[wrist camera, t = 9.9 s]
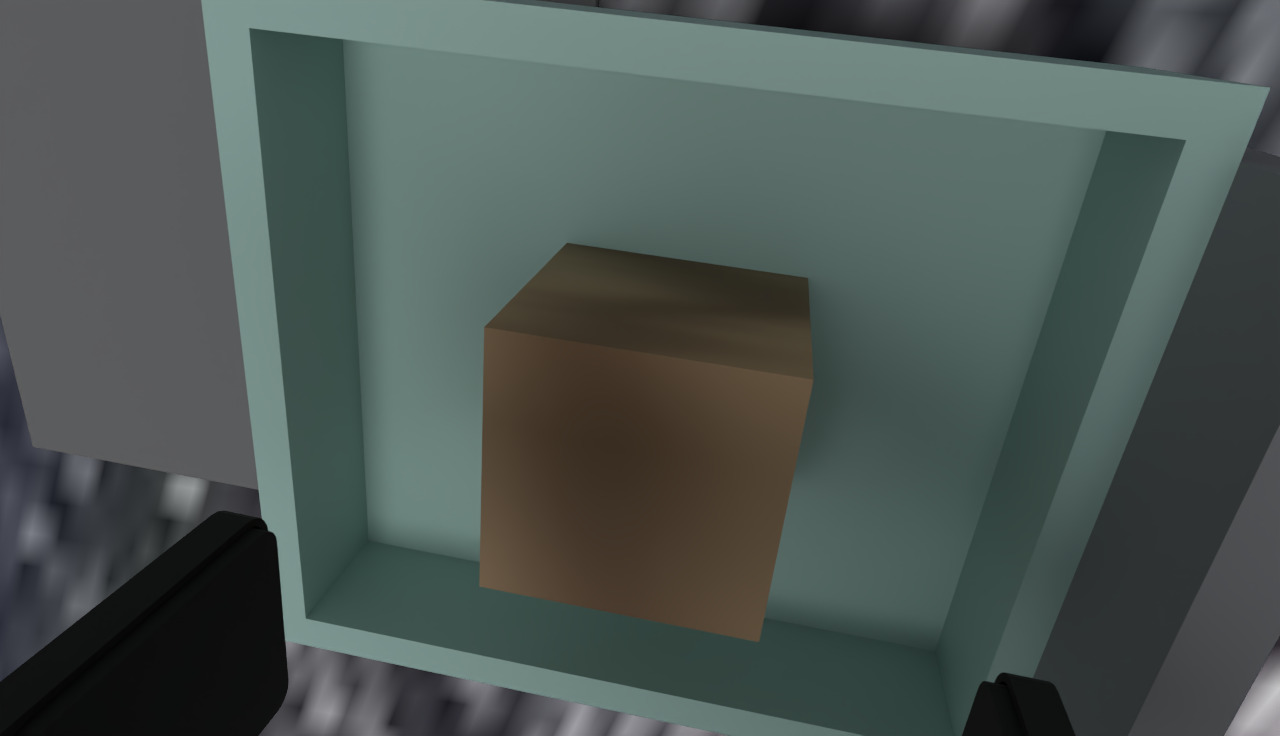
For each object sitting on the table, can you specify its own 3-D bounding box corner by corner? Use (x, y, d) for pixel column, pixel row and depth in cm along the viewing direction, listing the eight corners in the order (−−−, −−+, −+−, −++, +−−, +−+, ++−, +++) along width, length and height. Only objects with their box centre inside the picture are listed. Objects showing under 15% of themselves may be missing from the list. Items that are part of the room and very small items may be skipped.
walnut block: (807, 278, 16) (813, 379, 12) (767, 487, 18) (758, 641, 14) (567, 242, 17) (483, 327, 12) (554, 449, 19) (479, 586, 14)
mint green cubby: (1162, 67, 17) (1562, 128, 8) (980, 594, 23) (1097, 961, 14) (386, -18, 19) (32, -43, 10) (401, 486, 25) (184, 748, 16)
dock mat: (602, -54, 18) (599, -55, 18) (560, 543, 25) (558, 547, 25) (-102, -125, 20) (-110, -127, 20) (38, 443, 27) (33, 446, 27)
